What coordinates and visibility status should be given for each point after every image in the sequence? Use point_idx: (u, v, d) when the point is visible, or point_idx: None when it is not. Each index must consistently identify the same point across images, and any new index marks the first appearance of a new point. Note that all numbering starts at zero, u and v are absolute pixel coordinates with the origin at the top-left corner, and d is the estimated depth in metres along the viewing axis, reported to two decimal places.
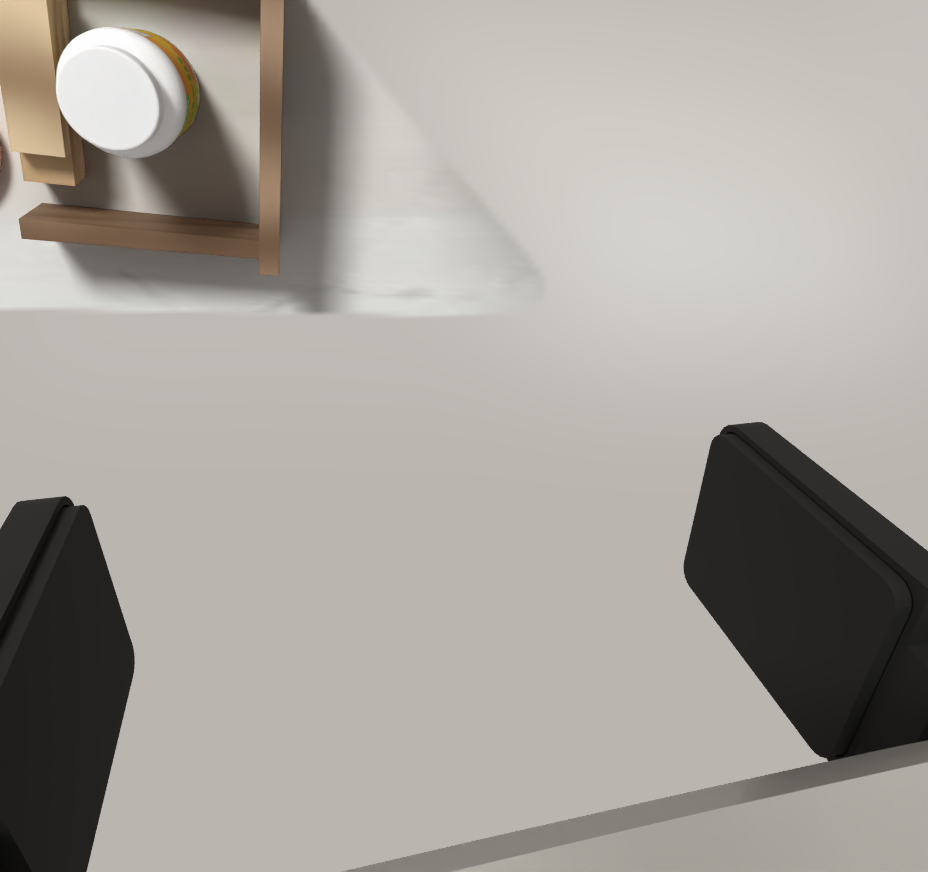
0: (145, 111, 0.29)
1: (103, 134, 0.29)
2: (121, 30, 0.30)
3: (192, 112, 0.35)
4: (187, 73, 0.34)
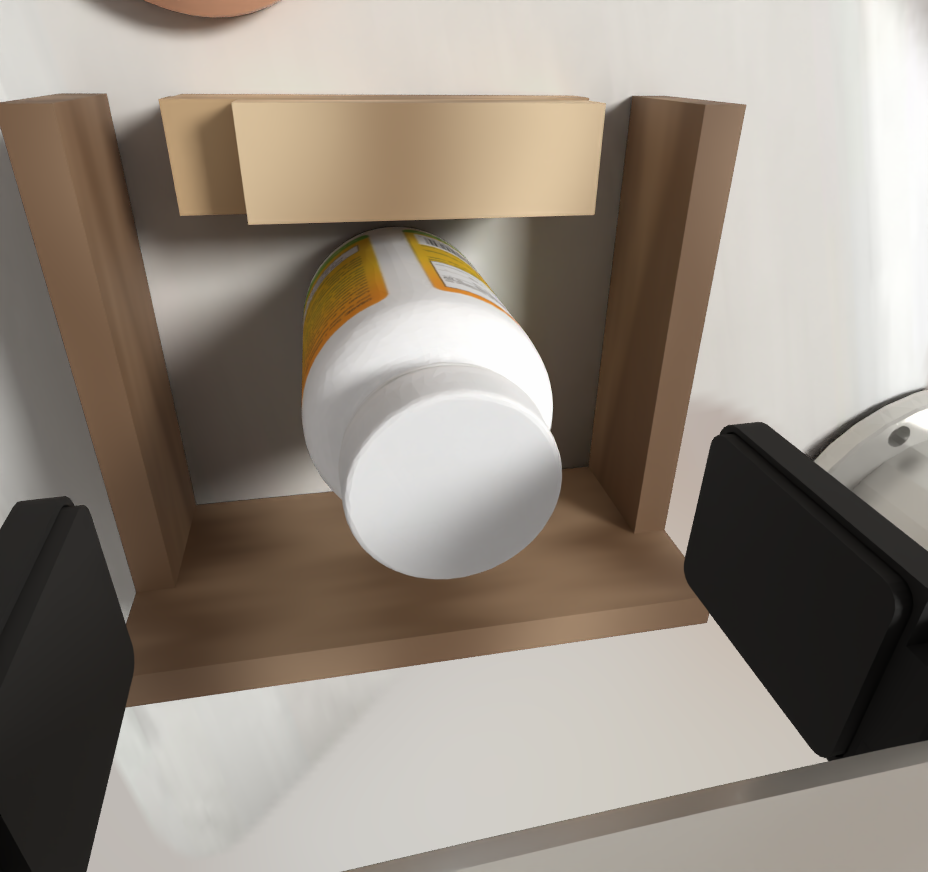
0: (444, 558, 0.13)
1: (378, 487, 0.12)
2: (550, 422, 0.15)
3: None
4: None
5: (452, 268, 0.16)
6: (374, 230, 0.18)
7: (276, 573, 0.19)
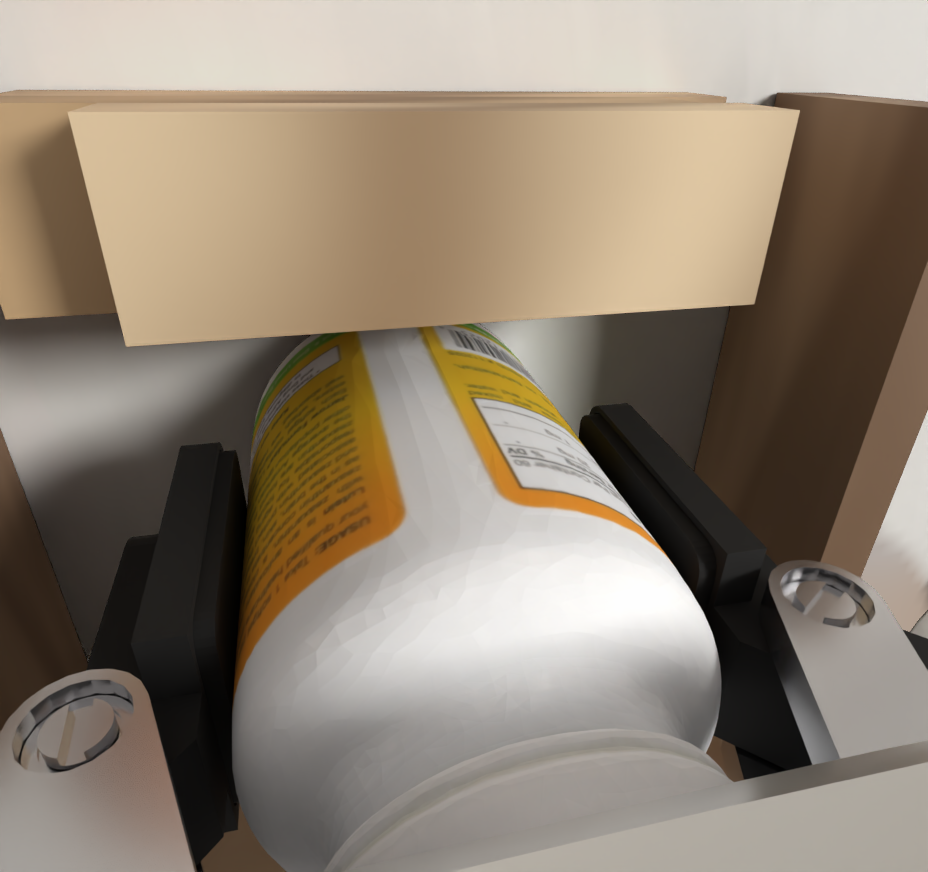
0: None
1: None
2: None
3: None
4: None
5: (513, 411, 0.09)
6: None
7: (215, 855, 0.12)
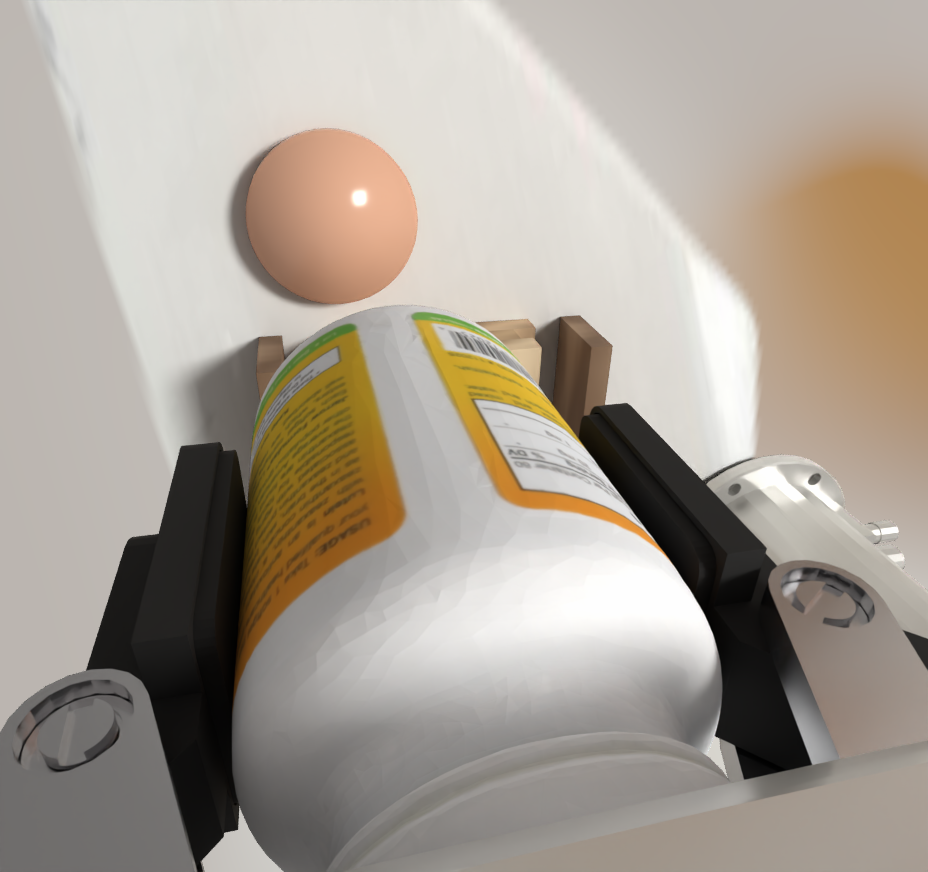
0: None
1: None
2: None
3: None
4: None
5: (513, 413, 0.09)
6: (365, 314, 0.11)
7: None
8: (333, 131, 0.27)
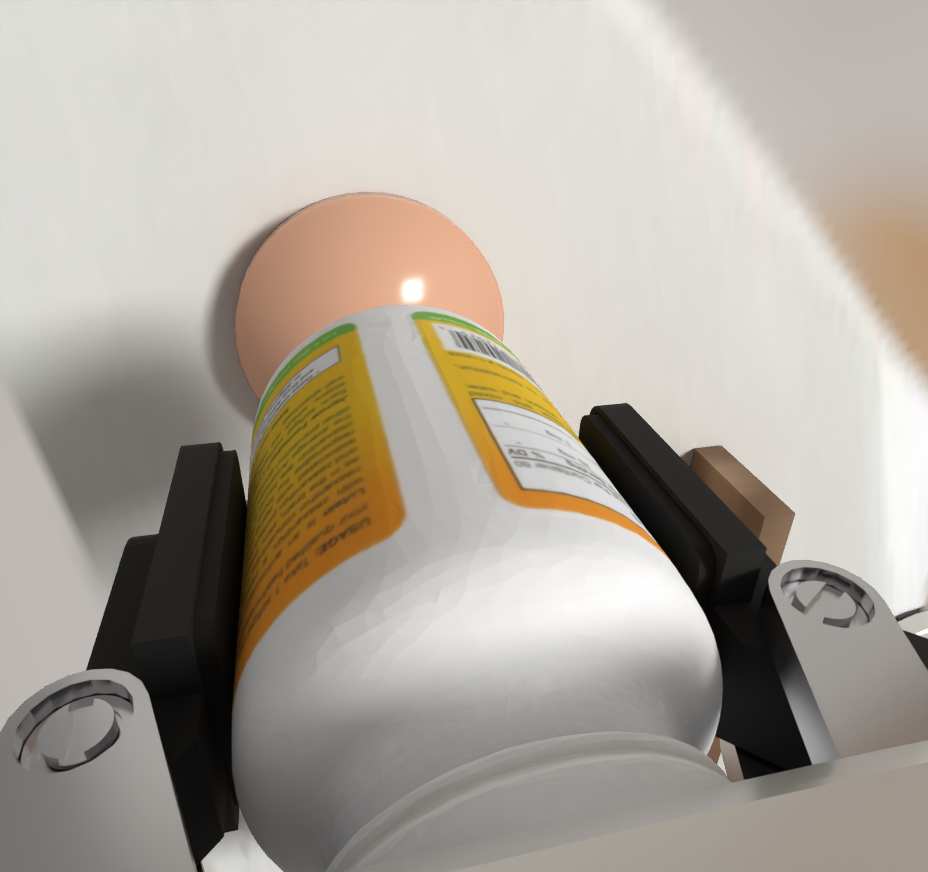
0: None
1: None
2: None
3: None
4: None
5: (514, 412, 0.09)
6: (365, 313, 0.11)
7: None
8: (378, 199, 0.16)
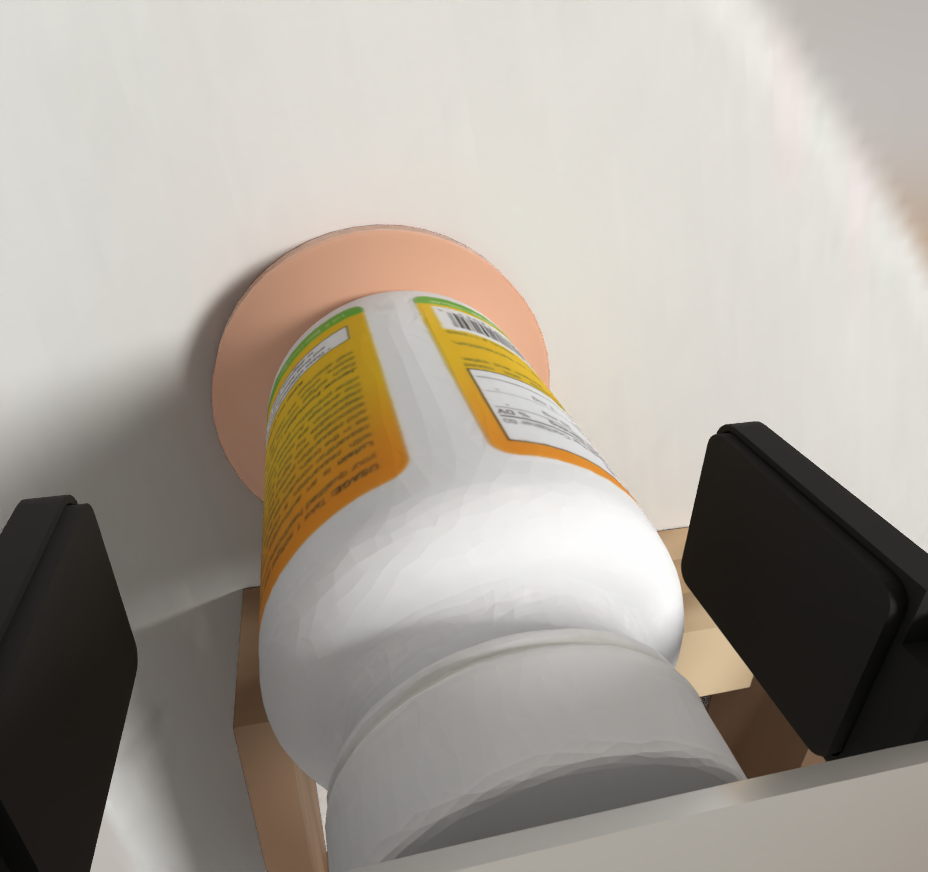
0: None
1: None
2: None
3: None
4: None
5: (504, 381, 0.10)
6: (371, 298, 0.12)
7: None
8: (395, 235, 0.13)
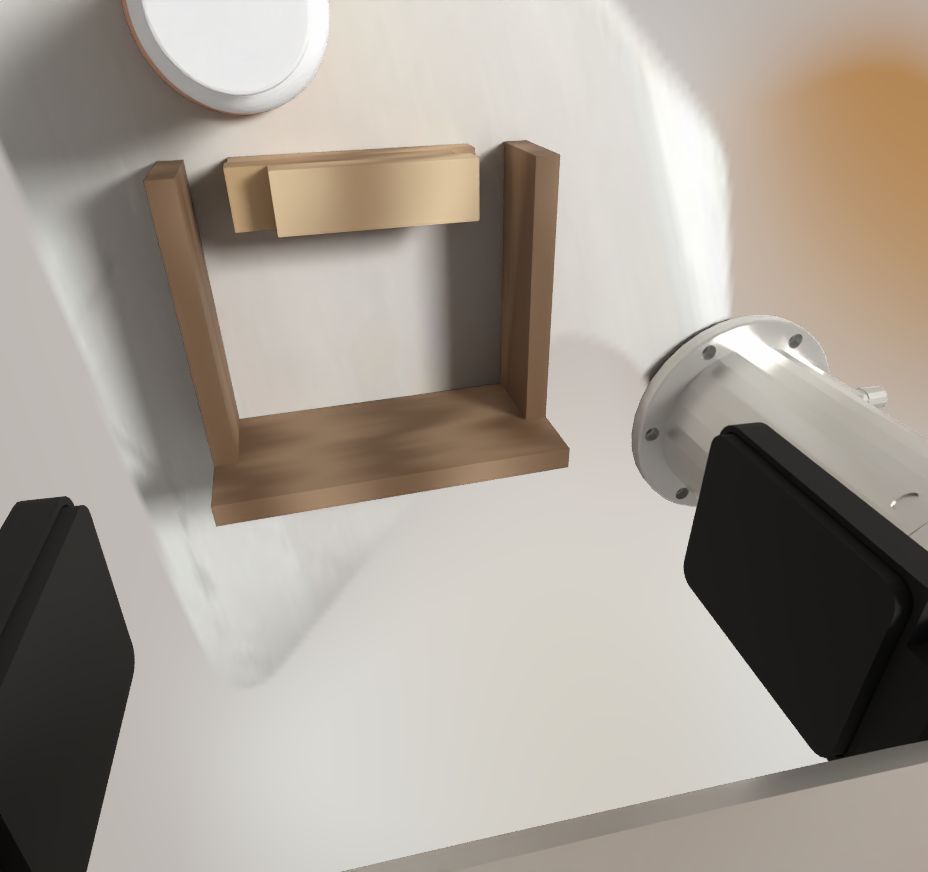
0: (230, 71, 0.17)
1: None
2: (328, 14, 0.19)
3: None
4: None
5: None
6: None
7: (299, 452, 0.30)
8: None
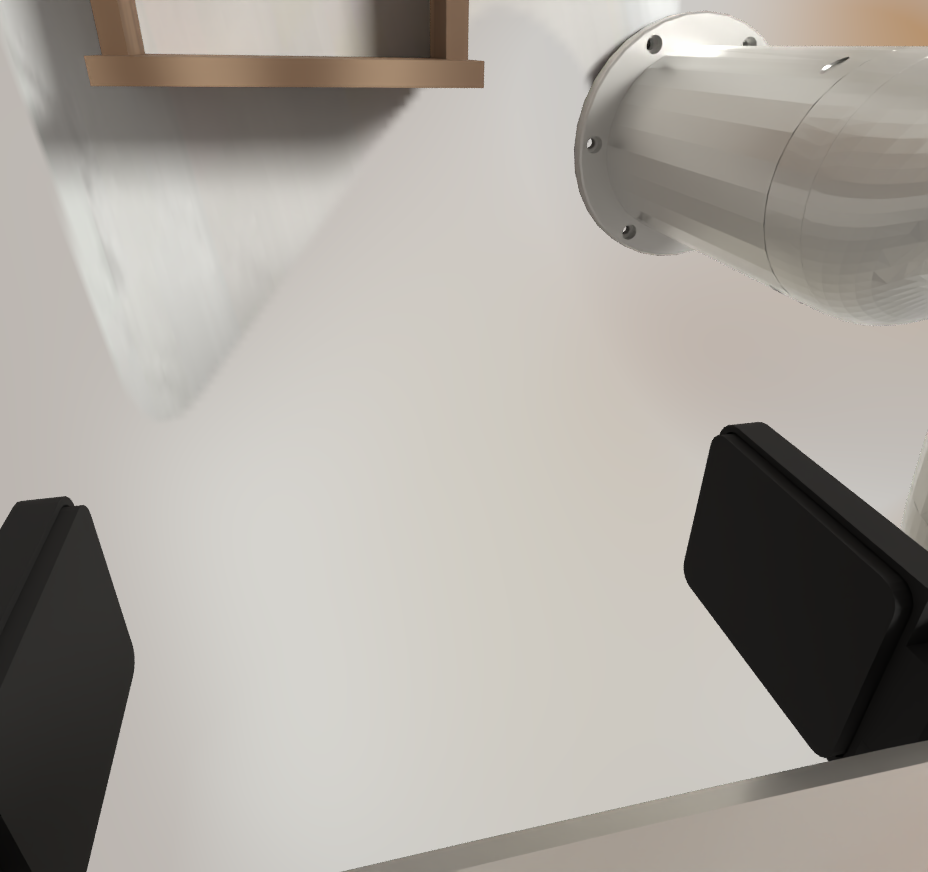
0: None
1: None
2: None
3: None
4: None
5: None
6: None
7: None
8: None
